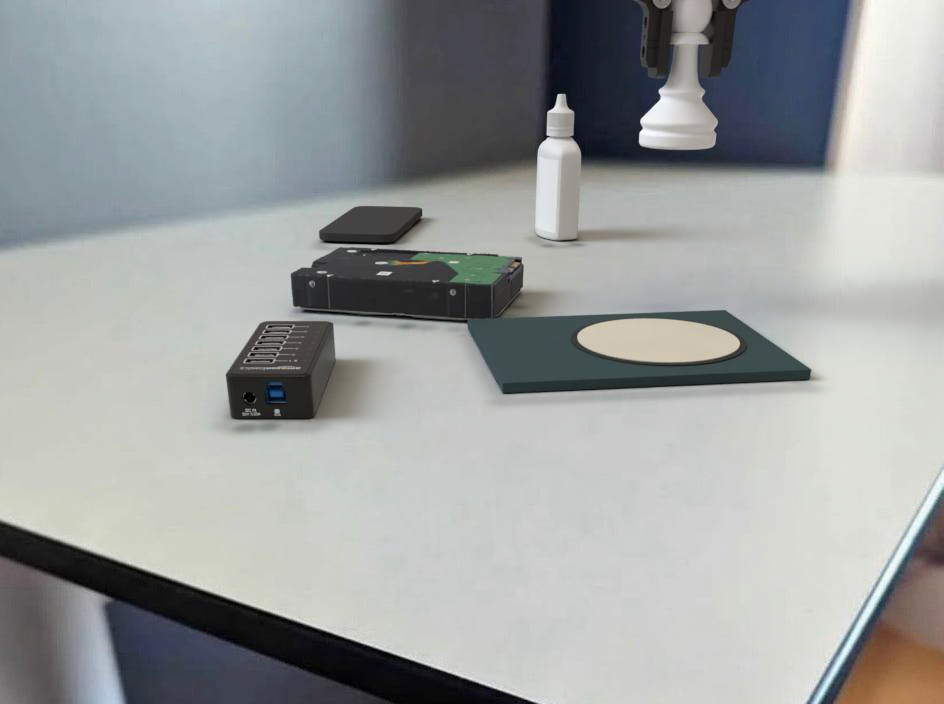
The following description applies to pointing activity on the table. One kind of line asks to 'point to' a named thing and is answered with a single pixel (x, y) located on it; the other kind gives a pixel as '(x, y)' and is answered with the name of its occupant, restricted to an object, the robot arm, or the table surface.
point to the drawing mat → (628, 351)
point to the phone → (371, 224)
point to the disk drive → (409, 283)
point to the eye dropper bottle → (558, 177)
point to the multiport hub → (282, 370)
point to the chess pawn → (682, 87)
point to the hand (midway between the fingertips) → (683, 76)
